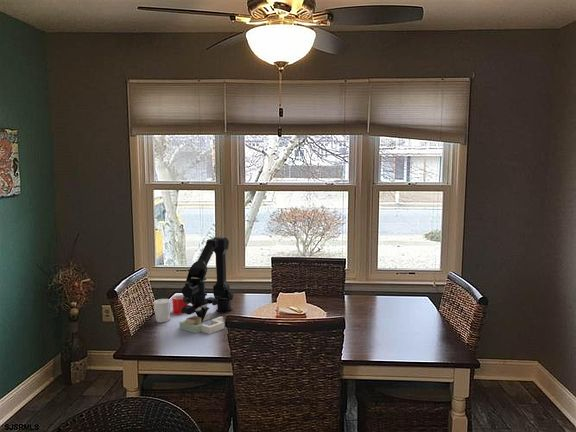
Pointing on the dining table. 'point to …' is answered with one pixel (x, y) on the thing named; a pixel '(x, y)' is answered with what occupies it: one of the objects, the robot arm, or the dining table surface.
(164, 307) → the white cup
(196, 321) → the block
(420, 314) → the dining table surface
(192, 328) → the angular open frame
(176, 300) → the mug
